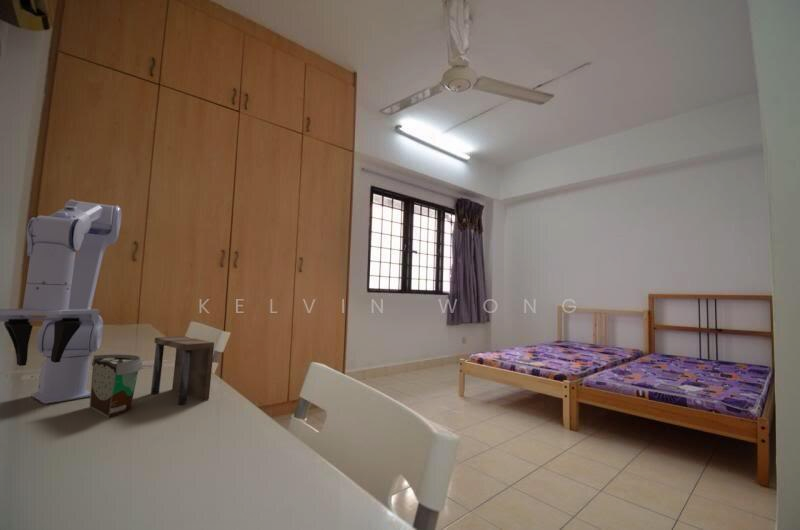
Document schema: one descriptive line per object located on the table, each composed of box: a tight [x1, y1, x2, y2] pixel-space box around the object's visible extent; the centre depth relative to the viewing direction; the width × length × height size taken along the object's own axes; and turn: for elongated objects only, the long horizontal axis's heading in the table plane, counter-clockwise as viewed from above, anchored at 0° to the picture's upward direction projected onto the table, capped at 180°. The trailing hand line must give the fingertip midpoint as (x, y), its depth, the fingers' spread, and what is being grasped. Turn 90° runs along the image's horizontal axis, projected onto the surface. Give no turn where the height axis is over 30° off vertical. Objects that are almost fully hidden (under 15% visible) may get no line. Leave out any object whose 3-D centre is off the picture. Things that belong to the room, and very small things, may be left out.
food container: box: [89, 353, 144, 418], centre depth 72 cm, size 12×6×10 cm, turn 58°
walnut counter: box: [150, 335, 215, 406], centre depth 82 cm, size 14×6×13 cm, turn 58°
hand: (38, 363), depth 62 cm, fingers open, 4 cm apart
